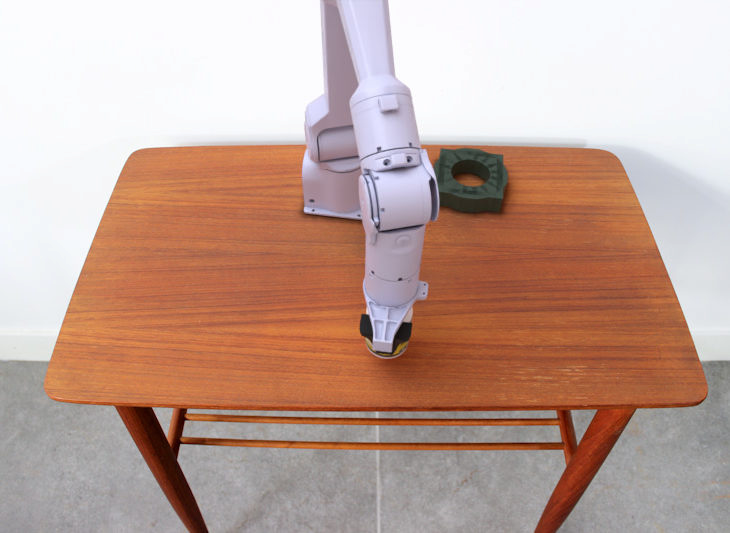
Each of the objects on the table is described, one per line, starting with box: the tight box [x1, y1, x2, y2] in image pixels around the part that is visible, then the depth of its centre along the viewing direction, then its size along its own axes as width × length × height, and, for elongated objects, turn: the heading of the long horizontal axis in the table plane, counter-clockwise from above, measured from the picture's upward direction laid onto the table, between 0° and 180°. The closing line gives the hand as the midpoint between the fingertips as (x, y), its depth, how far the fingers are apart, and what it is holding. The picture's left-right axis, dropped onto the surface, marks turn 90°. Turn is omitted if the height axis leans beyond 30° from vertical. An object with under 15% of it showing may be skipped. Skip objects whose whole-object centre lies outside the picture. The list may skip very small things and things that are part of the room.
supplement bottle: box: [364, 306, 414, 360], centre depth 70 cm, size 5×5×10 cm
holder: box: [433, 147, 509, 214], centre depth 94 cm, size 11×11×3 cm
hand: (387, 330), depth 72 cm, fingers closed on supplement bottle, 5 cm apart
